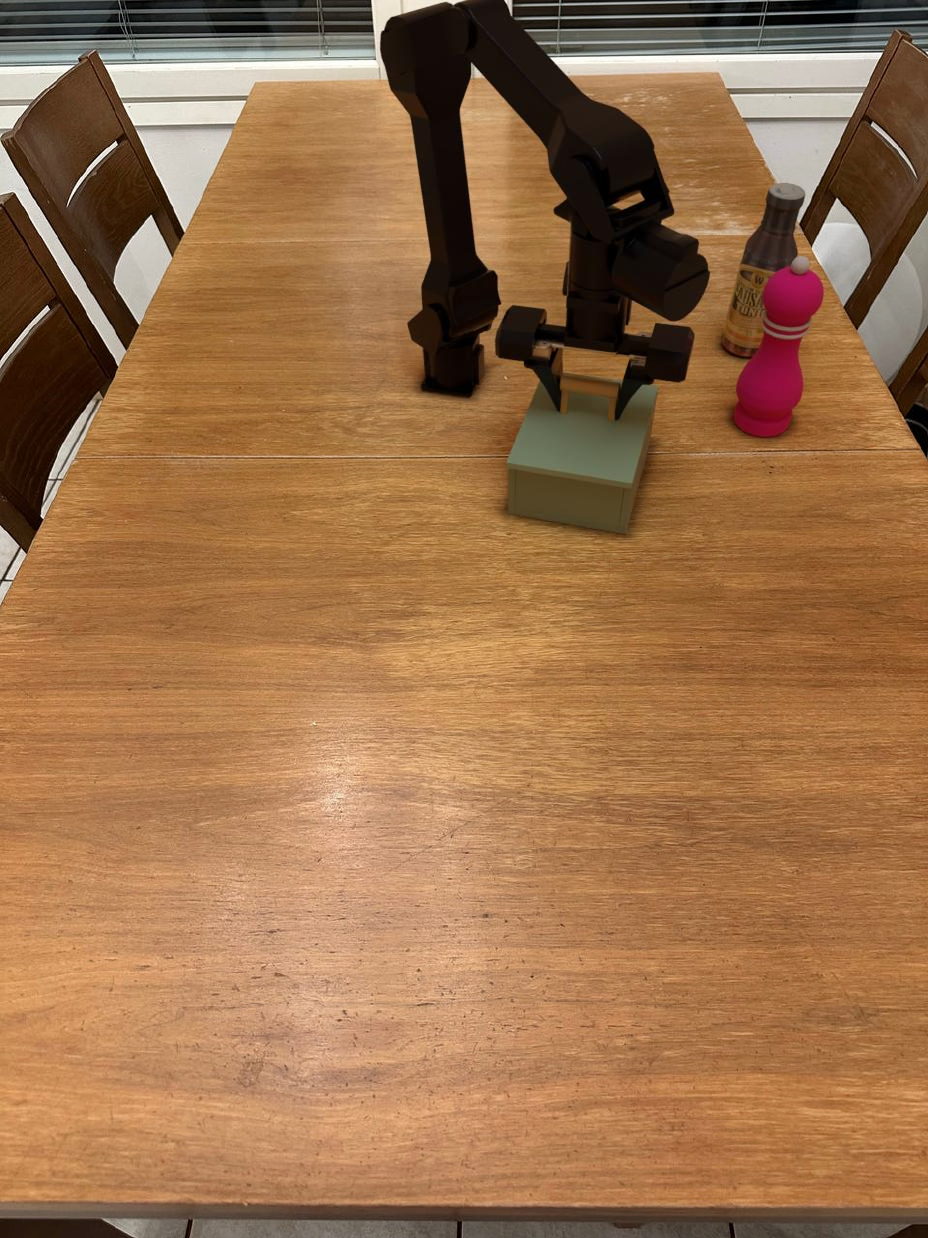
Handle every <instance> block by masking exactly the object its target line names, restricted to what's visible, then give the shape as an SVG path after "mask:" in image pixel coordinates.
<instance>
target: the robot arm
mask: <svg viewBox="0 0 928 1238" xmlns="http://www.w3.org/2000/svg"><path fill="white" fill-rule="evenodd" d="M379 37H380V38H379V52H380V58H381V61H382V62H383V66H384V70H385V74H386V78H387V82H388V86H389V89H390V92H392V94H393V95H394V96H395V98H396V99H397V101H398V102H399V103H400V104H401V106H402V107H403V109H404V110H405V111H406V113H407V114H408V116H409V119H410V124H411V125H410V126H411V131H412V137H413V143H414V150H415V157H416V166H417V171H418V172H417V173H418V180H419V186H420V193H421V199H422V206H423V213H424V219H425V227H426V233H427V239H428V247H429V254H430V261H429V262H428V263H429V264H428V266H427V269H426V272H425V274H424V278H423V280H422V283H421V285H420V291H421V292H420V293H421V294H420V295H421V310H419V312H418V313H416V314H415V315H414V316H413V317H412V318H411V319H409V320H408V322H407V323H406V326H407V329H408V333H409V336H410V340H411V341H412V342H413V343H415V344H416V345H418V346H419V347H421V348H422V357H423V370H424V372H423V373H424V378H423V379H422V382H421V383H420V384H419V385H420V386H419V387H420V390H421V391H423V392H431V393H437V394H442V395H443V394H444V395H449V396H450V395H451V396H455V397H463V398H471V397H472V396H473V394H474V392H475V390H476V388H477V386H479V385H480V384H481V381H482V380H483V377H484V375H485V346H484V344H482V343H481V335H480V334H483V333H485V332H489V331H491V329H492V325H493V322H494V320H495V319H496V318H497V317H498V316H499V307H500V306H501V305H502V300H501V298H500V293H499V276H498V274H497V272H496V271H495V270H494V269H489V268H488V267H487V266H486V264H485V263H484V262H483V261H482V260H481V258H480V256H478V254H477V250H476V241H475V233H474V231H475V230H474V223H473V214H472V206H471V197H470V188H469V179H468V169H467V162H466V155H465V153H466V152H465V145H464V136H463V127H462V119H461V118H462V117H461V107H462V105H463V102H464V99H465V96H466V94H467V91H468V88H469V85H470V82H471V79H472V76H473V75H472V71H473V70H472V65H473V67H475V69H476V70H477V71H478V72H479V73H480V74H481V76H483V77H484V78H485V80H486V81H487V82H488V83H489V84H490V85H491V86H492V87H493V89H494V90H495V91H496V92H497V93H498V94H499V95H500V97H501V98H502V99H503V100H504V101H505V102H506V103H507V104H508V106H509V107H511V109H512V110H513V111H514V112H515V113H516V114H517V115H518V116H519V117H520V118H521V120H522V121H523V122H524V123H525V124H526V125H527V127H529V129H530V130H531V131H532V132H533V133H534V134H535V135H536V136H537V138H538V139H539V140H540V142H541V143H542V145H544V148H545V150H546V153H547V163H548V171H549V173H550V175H551V176H552V178H553V180H554V181H555V182H556V183H557V185H558V186H559V187H558V188H560V189H561V191H562V193H563V194H564V195H565V197H566V198H565V199H564V200H563V201H562V202H560V203H559V204H558V205H556V206H554V207H553V209H552V210H553V215H555V216H556V217H558V218H560V219H562V220H564V221H566V222H568V223H569V224H570V228H569V249H568V261H567V262H566V264H565V270H564V275H563V280H562V291H561V293H562V296H565V299H566V300H565V308H566V309H565V325H558V324H549V323H547V320H548V311H547V310H546V308H540V307H532V306H525V305H517V304H516V305H515V304H513V305H511V306H509V307H508V308H507V309H506V311H505V313H504V315H503V317H502V319H501V322H500V323H499V325H498V328H497V329H496V333H495V338H494V350H495V351H494V355H495V356H496V357H497V358H498V359H501V360H510V361H516V362H517V361H518V362H523V367H524V368H525V369H529V370H532V371H533V372H534V374H535V375H536V377H537V378H538V380H539V381H541V382H542V384H543V385H544V387H545V388H546V390H547V392H548V394H549V396H550V398H551V400H552V402H553V403H554V405H555V407H556V409H557V411H560V408H561V390H560V380H561V376H562V375H563V373H564V364H563V352H564V350H571V351H578V352H585V353H586V352H587V353H593V354H600V355H601V354H602V355H609V356H618V355H621V356H628V362H627V365H626V368H625V371H624V374H623V378H622V380H621V381H622V385H621V389H620V393H619V397H618V401H617V404H616V408H615V420H619V418H620V416H621V414H622V413H623V411H624V409H625V407H626V406H627V404H628V402H629V401H630V399H631V398H632V396H633V395H634V394H635V393H636V392H637V391H638V389H639V388H640V387H641V386H642V385H654V383H655V380H656V381H663V382H670V383H681V382H684V381H686V379H687V374H688V370H689V366H690V361H691V358H692V352H693V349H694V343H695V337H696V333H695V332H694V331H693V329H692V327H691V326H686V325H677V324H669V323H661V322H655V323H654V326H653V329H652V332H650V331H639V332H637V333H628V332H626V326H627V327H628V326H629V324H630V321H631V317H632V316H631V315H632V306H633V302H634V303H636V304H637V305H640V306H641V307H643V308H644V309H647V310H649V311H651V312H653V313H654V314H656V315H658V316H660V317H661V318H663V319H665V320H667V321H669V322H673V323H675V322H680V321H682V320H684V319H685V318H686V317H688V316H689V315H690V314H692V312H693V311H694V310H695V309H696V307H697V306H698V304H699V303H700V301H701V300H702V299H703V297H704V294H705V293H706V290H707V287H708V285H709V282H710V276H711V270H709V263H708V260H707V258H706V257H705V256H704V255H703V254H701V253H699V246H700V241H699V239H698V238H697V237H695V236H694V237H693V236H691V235H689V234H687V233H682V232H679V231H676V230H674V229H672V228H670V227H668V226H666V225H664V224H662V222H663V221H665V220H666V219H668V218H671V217H672V216H674V215H675V208H674V205H673V202H672V199H671V196H670V193H671V191H670V189H669V187H668V185H667V183H666V181H665V178H664V175H663V172H662V170H661V167H660V164H659V160H658V157H657V155H656V151H655V144H654V142H653V139H652V137H651V135H650V134H649V133H648V131H647V130H646V129H645V128H644V127H643V125H641V124H640V123H638V122H637V121H636V120H635V119H633V118H631V116H629V115H628V114H627V113H625V112H624V111H622V110H621V109H620V108H617V107H615V106H613V105H608V104H606V103H603V102H599V101H596V100H594V99H592V98H590V97H589V96H587V94H585V93H584V92H583V91H582V90H580V88H579V87H578V86H577V85H576V84H575V83H574V82H573V80H571V79H570V78H569V76H568V75H567V74H566V73H565V72H564V71H563V70H562V69H561V67H559V66H558V65H557V63H556V62H555V61H554V60H553V59H552V58H551V57H550V56H549V55H548V53H546V52H545V51H544V49H543V48H542V47H541V46H540V45H539V43H537V42H536V41H535V39H534V38H532V36H531V35H530V34H529V33H528V32H527V31H526V30H525V29H524V27H522V25H521V24H520V23H519V22H518V21H517V20H516V19H515V18H514V17H513V16H512V15H511V11H510V8H509V5H508V3H507V2H506V0H461V1H457V2H455V3H454V4H453V3H451V2H448V1H442V2H439V3H435V4H431V5H428V6H425V7H421V8H418V9H414V10H411V11H407V12H403V13H400V14H397V15H394V16H390V17H389V19H388V20H387V21H386V22H385V25H384V27H383V30H381V32H380V35H379ZM639 194H640V195H641V197H642V198H643V200H641V201H639V202H637V203H635V204H632V205H630V206H628V207H626V208H623V209H621V208H619V207H617V206H615V205H616V204H618V203H620V202H622V201H625V200H627V199H629V198H632V197H634V196H636V195H639Z"/></svg>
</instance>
